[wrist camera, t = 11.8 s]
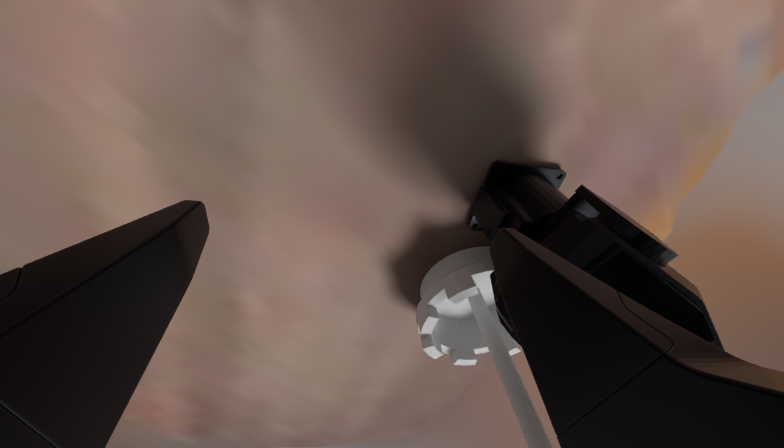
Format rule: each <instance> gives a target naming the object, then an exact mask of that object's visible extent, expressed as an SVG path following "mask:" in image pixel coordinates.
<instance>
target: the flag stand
mask: <svg viewBox="0 0 784 448" xmlns="http://www.w3.org/2000/svg"><path fill="white" fill-rule="evenodd" d="M493 271H494V267H493V263H492V259H491V255H490V247H482V246H481V247H473V248H468V249H464V250H460V251H458V252H455V253H453V254H451V255H449V256H447V257H445V258H444V259H442V260H440V261H439V262H438V263H437V264H435V265H434V266H433V267H432V268H431V269H430V270H429V272H428V273H427V274H426V276H425V277H424V279H423V281H422V284H421V288H420V296H421V300H420V302H419V304H418V307H417V311H416V323H417V327H418V332H419V334H420V337H421V341H422V345H423V349H424V350H425V351H426V353H427V354H428V355H429V356H431V357H432V358H434V359H436V358H438V357H440V356H442V355H443V353H447V354H450V355H451V359H452V362H453V365H475V364H476V361H477V358H476V355H475V354H479V353H485V352H490V354H491V357H492V359H493V362H494V364H495V367H496V369H497V372H498V374H499V376H500V379H501V381H502V384H503V386H504V389H505V391H506V394H507V396H508V398H509V401H510V403H511V406H512V408H513V411H514V413H515V415H516V418H517V420H518V423H519V425H520V428H521V430H522V433H523V435H524V438H525V440H526V442H527V445H528V447H529V448H553V446H552V444H551V442H550V440H549V438H548V436H547V433H546V431H545V429H544V427H543V425H542V423H541V420H540V418H539V416H538V414H537V412H536V410H535V407H534V405H533V403H532V401H531V399H530V397H529V395H528V392H527V390H526V388H525V386H524V384H523V382H522V380H521V377H520V375H519V373H518V371H517V369H516V367H515V365H514V362H513V360H512V358H511V355H513V354H516V353H518V352H520V351H521V350H520V348H519V346H518V344H517V342H516V341H515V340H514V339H513V338H512V337H511V336H510V334H509V333H508V332H507V331H506V329H505V328H504V326H503V325H502V324H501V323H500V320H499V317H498V314H497V311H496V307H495V300H494V295H493V290H492V284H491V279H490V274H491V273H492V272H493Z"/></svg>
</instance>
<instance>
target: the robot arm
mask: <svg viewBox="0 0 784 448" xmlns="http://www.w3.org/2000/svg"><path fill="white" fill-rule="evenodd" d="M497 166H500V167H499V168H498V169H496V167H497ZM559 174H560V175H559ZM558 175H559V176H558ZM557 176H558V177H557ZM565 176H566V173H565V172H564V171H563V170H562V169H557V168H550V167H543V166H535V165H528V164H521V163H513V162H506V161H495V162H494V163H492V165H491V167H490V170H489V172H488V175H487V177H486V179H485V182H484V184H483V185H482V186H481V188H480V191H479V193H478V196H477V198H476V201H475V203H474V206H473V208H472V214H471V217H470V219H469V221H468V226H469V228H470V229H471V230H479V231H484V233H485V234H486V236H487V238H488V239H489V241H490V242H492V244H491V246H490V255H491V259H492V263H493V267H494V271H493V272H492V273H491V274H490V279H491V284H492V290H493V295H494V300H495V307H496V311H497V314H498V317H499V320H500V323H501V324H502V325H503V326H504V328H505V329H506V331H507V332H508V333H509V334H510V336H511V337H512V338H513V339H514V340H515V341H516V342H517V343H518V344H519V345H520V346H522V348H523V351H524V353H525V356H526V359H527V361H528V364H529V366H530V369H531V371H532V374H533V377H534V379H535V381H536V384H537V387H538V389H539V392H540V394H541V397H542V400H543V402H544V405H545V407H546V410H547V413H548V415H549V418H550V420H551V423H552V425H553V428H554V431H555V433H556V435H557V439H558V441H559V444H560V446H561V448H784V372H782V371H777V370H773V369H768V368H765V367H761V366H758V365H755V364H752V363H749V362H747V361H744V360H742V359H740V358H737V357H735V356H733V355H731V354H729V353H727V352H725V350H724V348H723V345H722V343H721V340H720V338H719V336H718V333H717V331H716V329H715V326H714V324H713V321H712V319H711V317H710V315H709V312H708V310H707V307H706V305H705V303H704V300H703V298H702V295H701V293H700V291H699V290H698V288H697V287H696V286H695V285H694V284H692V283H691V282H690V281H689V280H687V279H686V278H685V277H683V276H682V275H681V274H680V273H678V272H677V271H676V270H674V269H673V268H672V267H670V266H669V265H668V264H667V263H669V262H670V261H671V260H673V259H674V258H676V257H677V256H678V254H677V253H675V252H674V251H673V250H672V249H671V248H669V247H668V246H667V245H666V244H665V243H663V242H662V241H661V240H660V239H659V238H658V237H656V236H655V235H654V234H653V233H651V232H650V231H649V230H647V229H646V228H644V227H643V226H642V225H640V224H639V223H637V222H636V221H635V220H633V219H632V218H630V217H629V216H628V215H626V214H625V213H623V212H622V211H621V210H619V209H618V208H616V207H615V206H613V205H612V204H610V203H609V202H607V201H606V200H604V199H603V198H601V197H600V196H598V195H597V194H595V193H594V192H592V191H591V190H589V189H588V188H586V187H585V186H583V185H581V186H580V187H579V188H578V189H577V190H576V191H575V192H576V193H575V194H574V195H573V196H572V197H571V198H570V199H568V198H567V197H566V196H565V195H563V194H562V193H561V192H560V191H559V190H558V189H559V187H560V185H561V184H562V182H563V180H564V178H565ZM474 223H476V224H475V225H473V224H474ZM208 234H209V223H208V218H207V214H206V209H205V205H204V204H203V203H202V202H201V201H192V200H184V201H181V202H179V203H176V204H174V205H172V206H169V207H167V208H164V209H162V210H159V211H157V212H154V213H152V214H149V215H147V216H144V217H142V218H139V219H137V220H134V221H132V222H130V223H127V224H125V225H122V226H120V227H117V228H115V229H112V230H110V231H107V232H105V233H102V234H100V235H97V236H95V237H92V238H90V239H87V240H85V241H83V242H80V243H78V244H75V245H73V246H70V247H68V248H65V249H63V250H60V251H58V252H55V253H53V254H50V255H48V256H45V257H43V258H41V259H38V260H36V261H33V262H31V263H28V264H26V265H24V266H23V268H16V269H13V270H11V271H8V272H6V273H3V274H1V275H0V448H105V447H106V445H107V443H108V441H109V439H110V437H111V435H112V433H113V431H114V429H115V427H116V425H117V424H118V422H119V420H120V418H121V416H122V414H123V412H124V410H125V408H126V406H127V404H128V402H129V400H130V398H131V396H132V395H133V393H134V391H135V389H136V387H137V385H138V383H139V381H140V379H141V377H142V375H143V373H144V371H145V369H146V368H147V366H148V364H149V362H150V360H151V358H152V356H153V354H154V352H155V350H156V348H157V346H158V344H159V342H160V341H161V339H162V337H163V335H164V333H165V331H166V329H167V327H168V325H169V323H170V321H171V319H172V317H173V315H174V313H175V312H176V310H177V308H178V306H179V304H180V302H181V300H182V298H183V296H184V294H185V292H186V290H187V288H188V286H189V284H190V282H191V280H192V278H193V275H194V273H195V270H196V267H197V264H198V262H199V259H200V256H201V253H202V251H203V248H204V245H205V242H206V240H207V237H208Z"/></svg>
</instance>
